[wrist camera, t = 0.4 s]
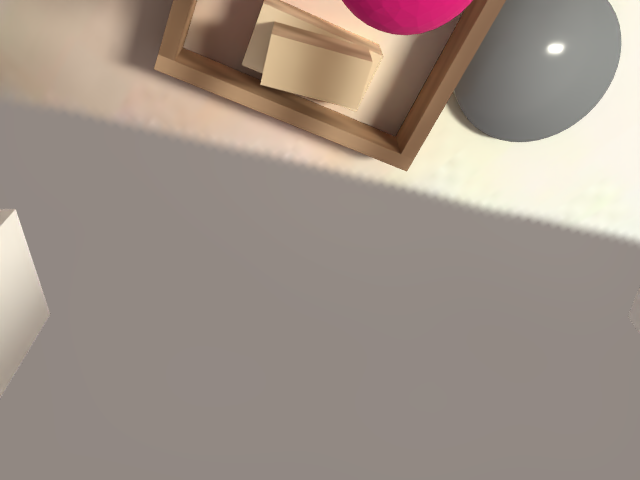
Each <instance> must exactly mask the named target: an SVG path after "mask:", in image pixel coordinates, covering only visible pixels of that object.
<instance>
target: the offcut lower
mask: <svg viewBox="0 0 640 480" xmlns="http://www.w3.org/2000/svg"><path fill="white" fill-rule="evenodd" d="M274 21H275V22H279V23H282V24H286V25H289V26H293V27H296V28H300V29H304V30H307V31H311V32H314V33H318V34H321V35H325V36H329V37H332V38H336V39H339V40H343V41H346V42H350V43H353V44H357V45H361V46H364V47H368V48H369V51H370V54H371V58H372V61H373V63H372V66H371V69H370V72H369V75H368V78H367V81H366V85H365V88H364V91H363V94H362V97H361V100H360V103H361V101H362V99H363V97H364V95H365V93H366V91H367V89H368V87H369V85H370V83H371V80H372V78H373V76H374V74H375V72H376V70H377V68H378V66H379V64H380V62H381V60H382V58H383V54H382V51H381V49H380V46H379V44H376V43H374V42H372V41H370V40H368V39H365V38H363V37H361V36H359V35H356V34H354V33H352V32H350V31H347V30H345V29H343V28H341V27H339V26H336V25H334V24H332V23H330V22H327V21H325V20H323V19H321V18H318V17H316V16H314V15H312V14H310V13H307V12H305V11H303V10H301V9H298V8H296V7H294V6H292V5H289V4H287V3H285V2H283V1H281V0H264V2H263V5H262V8H261V11H260V13H259V16H258V19H257V22H256V25H255V28H254V30H253V33H252V36H251V39H250V42H249V45H248V47H247V50H246V53H245V56H244V59H243V62H242V65H243V66H245V67H248V68H250V69H253V70H255V71H257V72H260V73H262V74H263V70H264V66H265V61H266V57H267V52H268V47H269V43H270V38H271V34H272V29H273V25H274ZM360 103H359V105H360ZM342 107H344V106H342ZM358 107H359V106H358ZM344 108H347V109H349V110H352V111H354V112H356V111H357V110H355V109H352V108H348V107H344Z"/></svg>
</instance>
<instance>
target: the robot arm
mask: <svg viewBox="0 0 640 480" xmlns="http://www.w3.org/2000/svg"><path fill="white" fill-rule="evenodd" d="M49 316H50V311H49V309H48V306H47V303H46V300H45V297H44V293H43V291H42V287H41V284H40V282H39V278H38V275H37V272H36V270H35V266H34V263H33V260H32V257H31V254H30V251H29V249H28V245H27V242H26V240H25V237H24V233H23V230H22V227H21V224H20V222H19V218H18V215H17V212H16V210H15V209H0V398H1V397H2V395H3V393H4V392H5V390H6V388H7V386H8V385H9V383H10V381H11V379H12V378H13V376H14V375H15V373H16V371H17V370H18V368H19V366H20V365H21V363H22V361H23V359H24V358H25V356H26V355H27V353H28V351H29V349H30V348H31V346H32V344H33V343H34V341H35V339H36V338H37V336H38V334H39V333H40V331H41V329H42V328H43V326H44V324H45V322H46V321H47V319H48V317H49ZM628 317H629V319H630V320H631V322H632V323H633V325H634V326H635V328H636V329H637V330H638V332H639V333H640V287H639V290H638V292H637V295H636V297H635V300H634V302H633V305H632V307H631V310H630V312H629V315H628Z"/></svg>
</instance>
